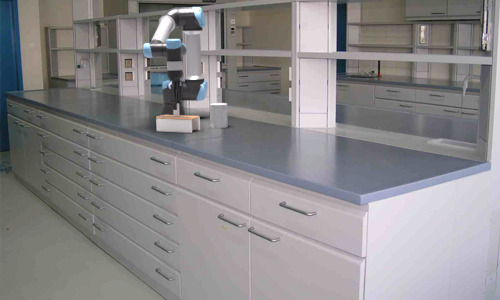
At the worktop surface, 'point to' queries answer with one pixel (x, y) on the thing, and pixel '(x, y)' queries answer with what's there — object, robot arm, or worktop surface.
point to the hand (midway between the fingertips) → (176, 116)
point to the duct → (178, 125)
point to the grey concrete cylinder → (218, 115)
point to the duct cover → (178, 117)
